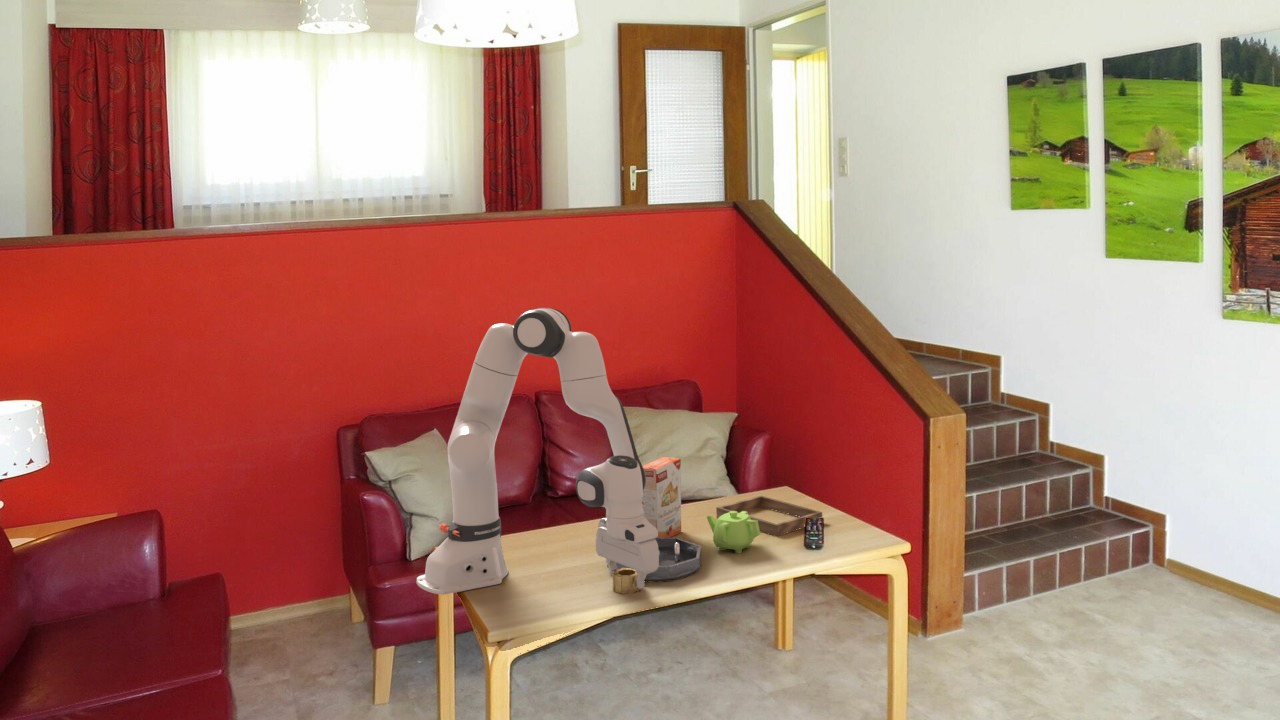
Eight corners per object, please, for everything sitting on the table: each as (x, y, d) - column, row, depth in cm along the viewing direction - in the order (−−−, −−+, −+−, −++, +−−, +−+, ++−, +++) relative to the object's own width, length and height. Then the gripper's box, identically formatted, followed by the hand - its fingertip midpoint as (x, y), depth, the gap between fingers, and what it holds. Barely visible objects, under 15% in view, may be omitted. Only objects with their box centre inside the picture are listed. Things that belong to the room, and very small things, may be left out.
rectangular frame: (776, 536, 294) (776, 525, 294) (716, 517, 313) (716, 507, 312) (822, 522, 305) (822, 512, 305) (761, 505, 324) (761, 495, 323)
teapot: (747, 539, 293) (746, 503, 291) (763, 552, 282) (762, 515, 280) (705, 544, 290) (704, 508, 288) (719, 557, 279) (719, 520, 277)
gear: (624, 595, 253) (624, 579, 253) (607, 588, 259) (607, 572, 258) (646, 588, 257) (646, 572, 257) (629, 581, 263) (629, 565, 262)
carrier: (648, 588, 257) (647, 562, 256) (591, 565, 275) (590, 540, 274) (720, 566, 271) (719, 540, 270) (661, 545, 289) (660, 521, 288)
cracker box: (659, 546, 289) (656, 469, 286) (639, 543, 292) (636, 467, 289) (683, 531, 301) (681, 457, 298) (664, 528, 304) (662, 455, 301)
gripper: (588, 518, 262) (590, 574, 264) (641, 537, 246) (643, 596, 248) (609, 513, 266) (611, 568, 268) (662, 532, 250) (664, 589, 252)
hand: (627, 582), depth 258 cm, fingers open, 8 cm apart
